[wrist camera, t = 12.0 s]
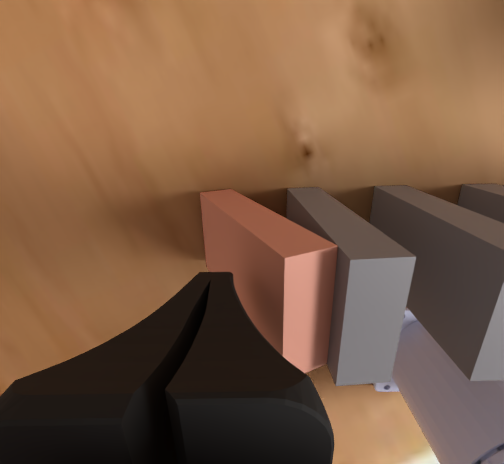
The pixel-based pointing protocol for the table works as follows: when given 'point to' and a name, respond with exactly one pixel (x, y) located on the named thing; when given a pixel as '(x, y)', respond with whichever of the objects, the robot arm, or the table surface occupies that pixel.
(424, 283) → the domino
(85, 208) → the table surface
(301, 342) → the red domino
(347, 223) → the domino
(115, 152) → the table surface
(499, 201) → the domino
